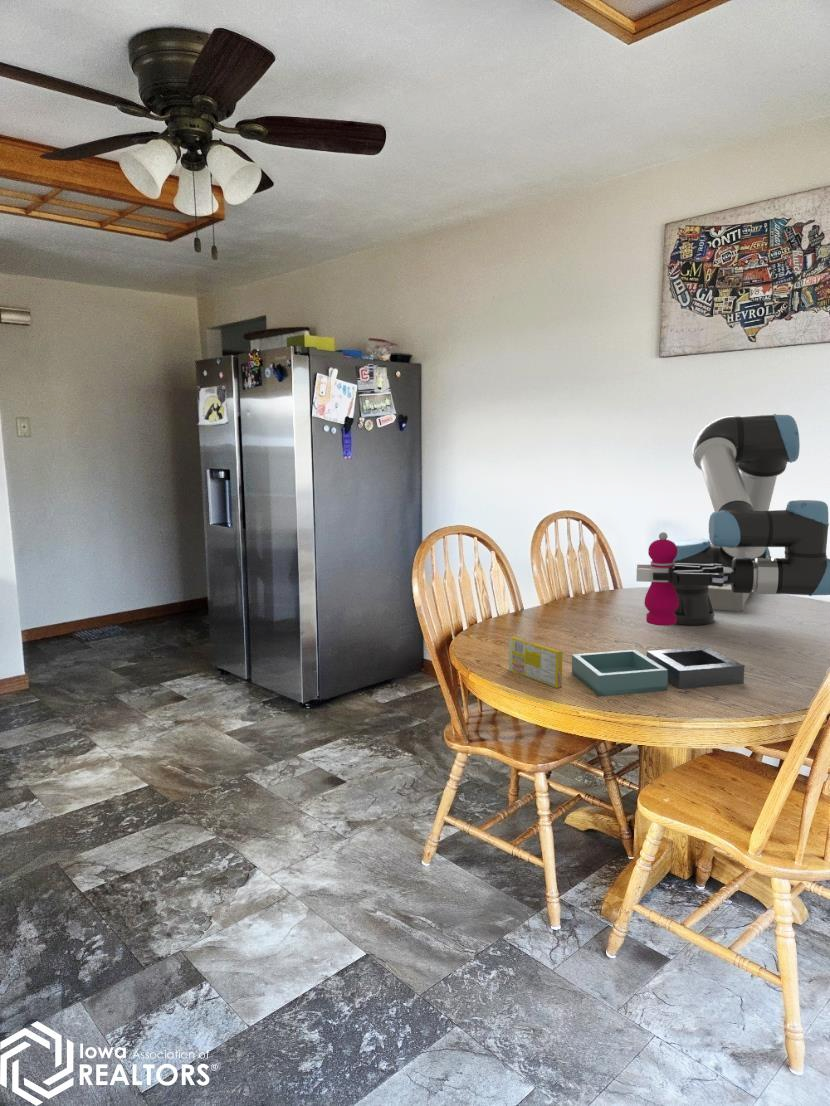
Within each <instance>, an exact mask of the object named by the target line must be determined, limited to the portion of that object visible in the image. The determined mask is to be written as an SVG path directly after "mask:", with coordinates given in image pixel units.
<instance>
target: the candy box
mask: <svg viewBox="0 0 830 1106" xmlns="http://www.w3.org/2000/svg"><path fill="white" fill-rule="evenodd" d="M563 652H564V651H563V650H560V649H557V648H554V647H553V648H552V647H550V646H547V645H544V644H541V643H537V642H535V641H531V640H528V639H526V638H525V639H524V638H521V637H518V636H516V635H515V636H514V635H512V636H509V637H508V671H510V672H513V673H516V674H518V675H521V676H523V677H527V678H529V679H531V680H534V681H536V682H540V683H542V684H545V685H548V686H550V687H552V688H555V689H559V688H561V687H562V685H563V684H562V683H563V682H562V681H563V655H564V654H563Z"/></svg>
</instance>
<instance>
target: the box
mask: <svg viewBox="0 0 830 1106" xmlns="http://www.w3.org/2000/svg"><path fill="white" fill-rule="evenodd" d="M751 593H752V592H750V593H734V592H733V591H732V589H731V585H723V586H722V587H719V586H709V587H708V595H709V598H710V601H711V605H712V608H713V610H720V611H721V610H722V611H732V612H733V611H735V612H742V611H743V609H744V607H745V605H746V603H747V601H748V598H749V596H750V595H751Z"/></svg>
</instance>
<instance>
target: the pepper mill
mask: <svg viewBox="0 0 830 1106" xmlns="http://www.w3.org/2000/svg"><path fill="white" fill-rule="evenodd" d="M658 538H659V539H656V540H654V541H652V542H651V543H650V544H649V546H648V551H647V552H648V556H649V558H650V559H651V561H650V564H651V566H650V567H651V568H652V569H669V567H672V568H673V569H674V568H675V567H674V564H675V562H673V560H674V559H675V558H676V556H677V552H678V551H677V547H676V545H675V543H674V542H673V541H672V540H670V539H668V534H667V533H666V532H664V531H662V532H660V533H659V535H658ZM644 606H645V608H646V609H647V611H648V612H647V613H646V623H647V624H650V625H654V626H660V627H661V626H662V627H663V626H664V627H667V626H673V625H674V626H675V625H677V624H676V618H677V616H676V614H674V612H675V611H676V610H677V609H678V607H679V598H678V595H677V593H676V590H675V588H674V585H673V584H672V583H669V581H668V582H650V585H649V588H648V589H647V592H646V594H645V598H644Z"/></svg>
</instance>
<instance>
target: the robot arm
mask: <svg viewBox="0 0 830 1106" xmlns="http://www.w3.org/2000/svg"><path fill="white" fill-rule="evenodd" d="M799 432H800V431H799V428H798V424H797V421H796V420H795V418H794V417H793V416H791V415H789V414H776V413H773V414H765V415H764V414H763V415H759V414H758V415H737V416H736V415H731V416H729V415H728V416H724V417H720V418H718V419H715V420H713V421H711V422H710V423H708V424H707V425H706V426H704V427H703V429H702V430H701V431H699V432H698V435H697V436H696V438H695V440H694V442H693V446H692V457H693V461H694V464H695V465H696V467H697V468H698V469H699V470H700V471H701V472H702V475H703V478H704V482H705V485H706V488H707V491H708V495H709V497H710V501H711V504H712V507H713V512H712V513H711V514H710V516H709V518H708V520H709V521H708V537H709V539H707V538H690V539H688V538H687V539H684V540H683V539H682V540H678V541H677V540H676V541H675V542H673V543H675V545H676V547H677V551H678V552H677V556H676V558H675V559H674V560H673V562H675V564H674V567H675V568H674V569H673V568H672V567H669V569H652V568H651V567H650V566H651V563H649V564H648V563H637V564H636V566H637V567H636V578H635V579H636V582H642V583H644V582H646V583H648V582H650V583H651V582H668V581H669V583H672V584H673V585H674V588H675V590H676V593H677V595H678V598H679V607H678V609H677V610H676V611H675V612H674V614H676V616H677V618H676V624H675V625H681V626H683V625H684V626H702V625H707V624H712V623H713V622H714V621H715V611H714V609H713V608H712V605H711V601H710V598H709V595H708V587H709V586H719V587H722V586H723V585H731V589H732V591H733V592H734V593H750V592H751V593H752V592H754V594H756V595H757V594H758V595H795V596H809V597H812V596H829V595H830V558H828V555H827V546H828V531H829V526H830V523H829V506H828V504H827V503H826V502H824V501H822V500H814V499H813V500H811V499H807V500H804V499H800V500H799V499H798V500H790V501H788V502H787V504H786V508H785V509H780V510H779V509H778V510H770V506H771V503H772V502H771V501H772V497H773V494H774V489H775V485H776V481H777V477H778V476H779V475H782V474H783V473H784V472H785V471H786V469H787V464H788V463H790V464H791V463H795V462H797V460H798V459H799V455H800V445H801V444H800V443H801V442H800V434H799ZM769 548H784V557H780V558H779V557H777V558H772V555H771V553H770V549H769ZM751 593H750V594H751Z"/></svg>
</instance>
